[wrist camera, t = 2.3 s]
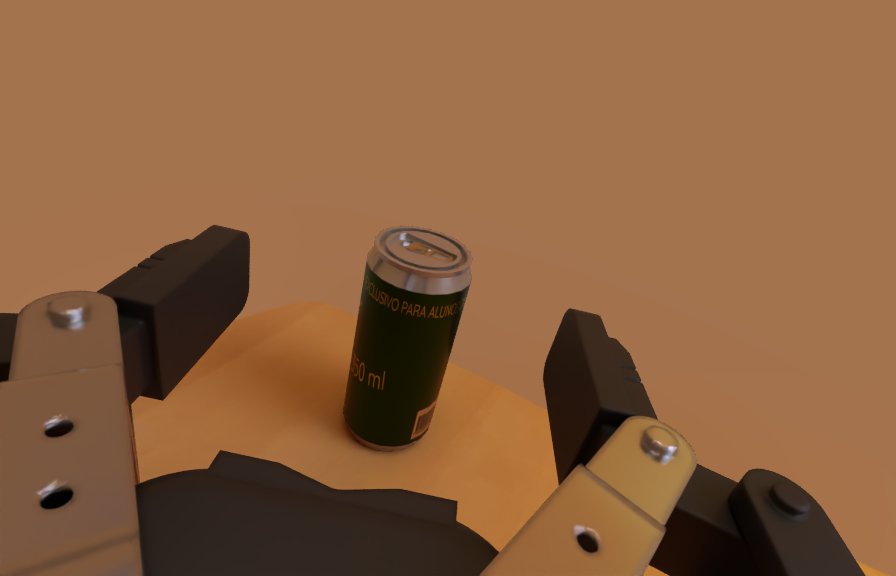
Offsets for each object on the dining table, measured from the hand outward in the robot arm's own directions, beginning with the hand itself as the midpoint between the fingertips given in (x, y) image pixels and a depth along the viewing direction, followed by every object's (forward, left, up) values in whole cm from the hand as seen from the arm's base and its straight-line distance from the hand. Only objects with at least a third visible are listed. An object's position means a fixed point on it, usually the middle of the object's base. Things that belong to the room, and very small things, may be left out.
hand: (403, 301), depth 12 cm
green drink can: (-7, +9, -16) cm, 19 cm away
